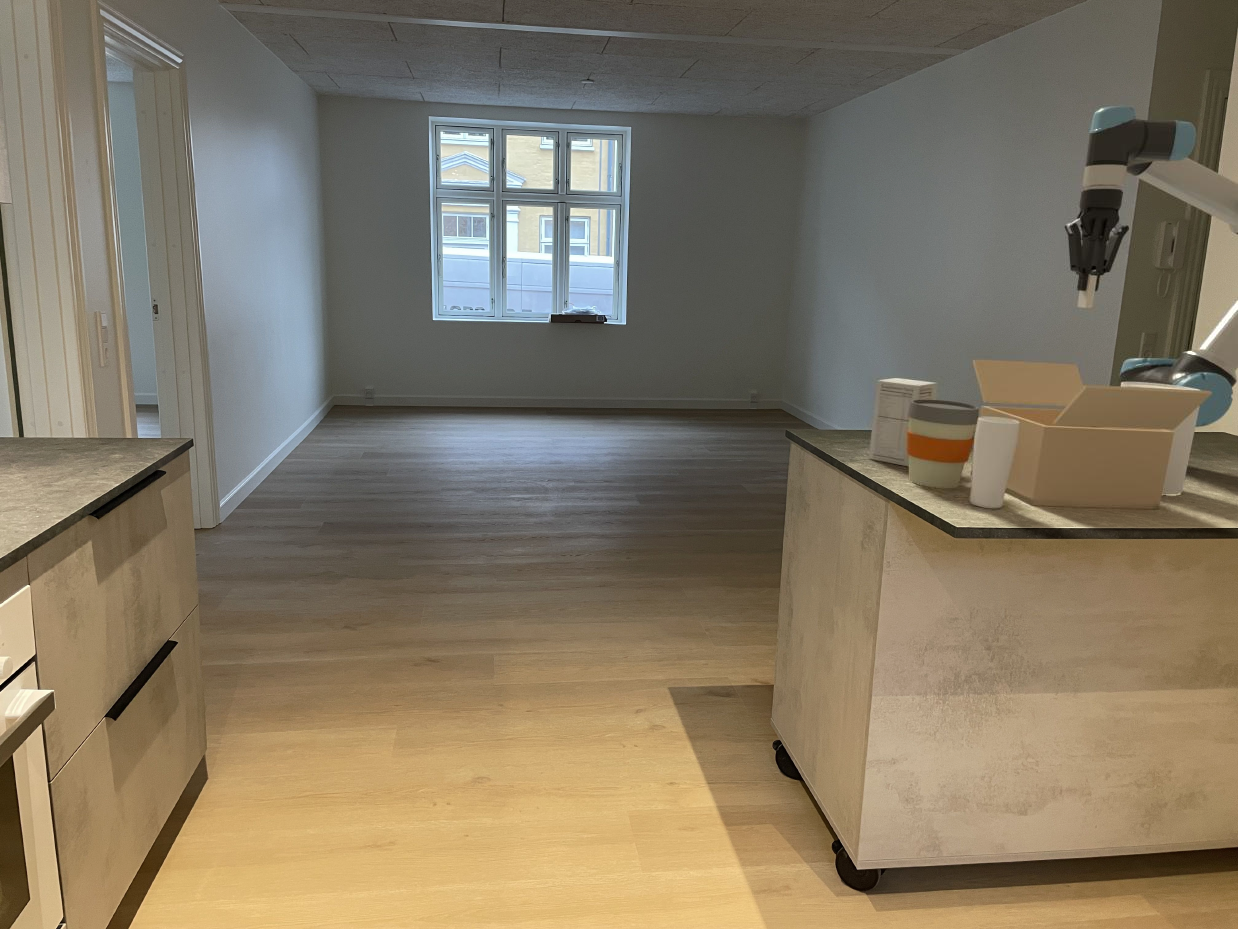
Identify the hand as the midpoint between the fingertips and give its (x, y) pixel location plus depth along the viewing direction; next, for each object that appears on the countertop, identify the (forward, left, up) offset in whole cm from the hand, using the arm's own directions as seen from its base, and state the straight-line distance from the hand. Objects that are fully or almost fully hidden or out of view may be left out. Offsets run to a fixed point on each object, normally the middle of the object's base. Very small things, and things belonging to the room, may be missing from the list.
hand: (1084, 307), depth 184 cm
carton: (+14, +24, -34) cm, 44 cm away
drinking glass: (+36, +36, -34) cm, 61 cm away
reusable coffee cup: (+38, +20, -34) cm, 54 cm away
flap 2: (+14, +39, -15) cm, 44 cm away
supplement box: (+37, +1, -34) cm, 50 cm away
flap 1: (+15, +9, -15) cm, 23 cm away
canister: (-7, +18, -34) cm, 39 cm away
